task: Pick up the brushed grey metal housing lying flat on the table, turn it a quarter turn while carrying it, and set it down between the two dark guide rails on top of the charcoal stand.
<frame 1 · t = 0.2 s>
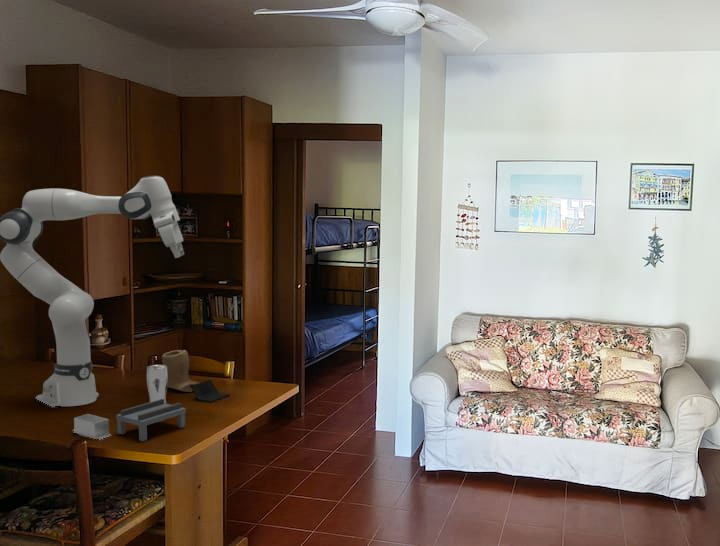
hand: (179, 256, 249), 52 cm above the table, tool tilted 20°, fingers open, 8 cm apart
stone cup: (180, 390, 268), on the table
housing: (91, 434, 215), on the table
beer glass: (157, 410, 241), on the table
stand: (151, 430, 219), on the table
dark grey angled bracket: (210, 399, 256), on the table
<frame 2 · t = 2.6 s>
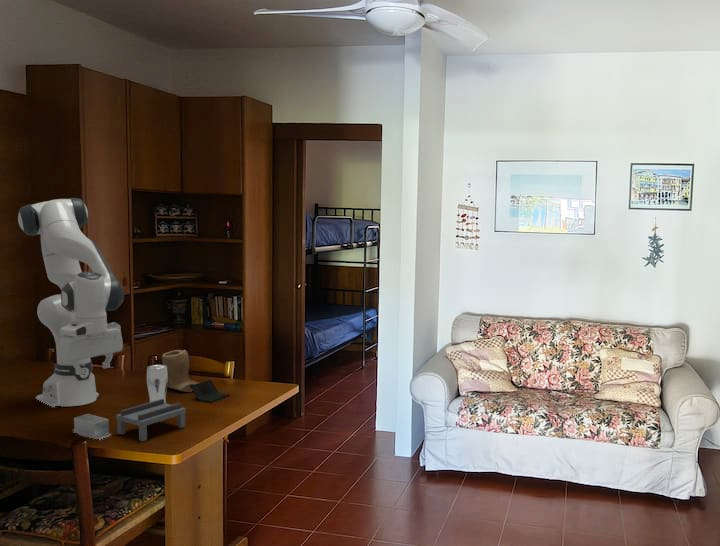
hand: (93, 371, 213), 20 cm above the table, tool pointing down, fingers open, 8 cm apart
nothing on the table moved.
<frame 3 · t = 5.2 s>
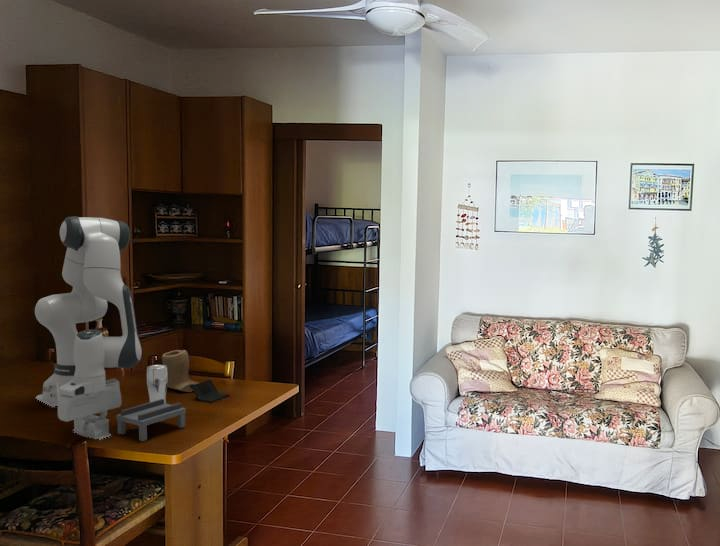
hand: (91, 428, 215), 2 cm above the table, tool pointing down, fingers closed on housing, 5 cm apart
housing: (91, 434, 215), on the table, touching gripper
everything else where it was.
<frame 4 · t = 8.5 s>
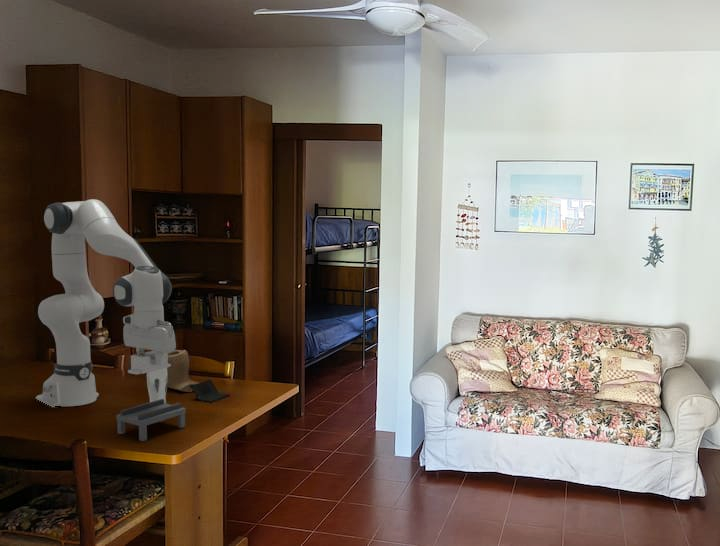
hand: (150, 363, 217), 21 cm above the table, tool pointing down, fingers closed on housing, 5 cm apart
housing: (149, 369, 217), point 19 cm above the table, touching gripper
everything else where it was.
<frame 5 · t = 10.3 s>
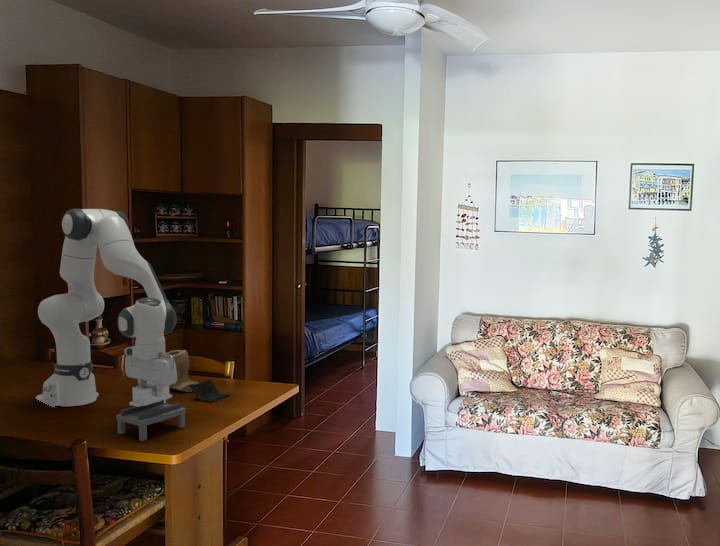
hand: (151, 394, 218), 11 cm above the table, tool pointing down, fingers closed on housing, 5 cm apart
housing: (151, 400, 218), point 9 cm above the table, touching gripper
everything else where it was.
when the fingers open (9 cm above the table, at t = 11.6 s): housing drops 1 cm, resting on stand.
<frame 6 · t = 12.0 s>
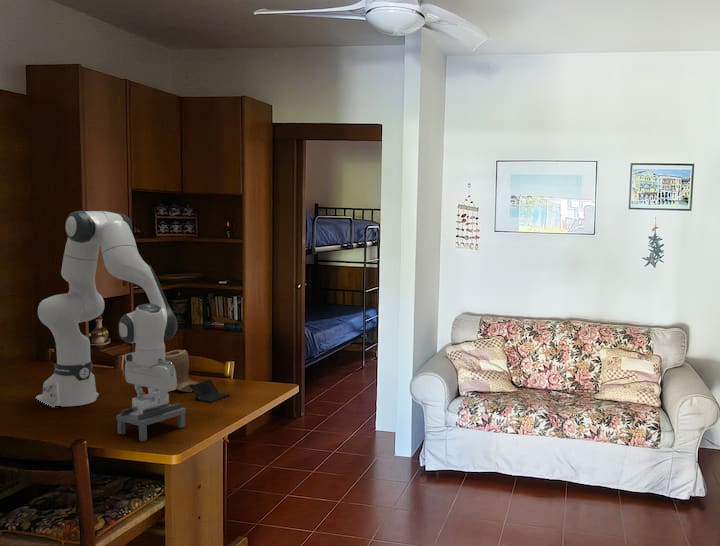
hand: (151, 400, 218), 9 cm above the table, tool pointing down, fingers open, 8 cm apart
housing: (150, 411, 218), point 6 cm above the table, touching stand
everything else where it was.
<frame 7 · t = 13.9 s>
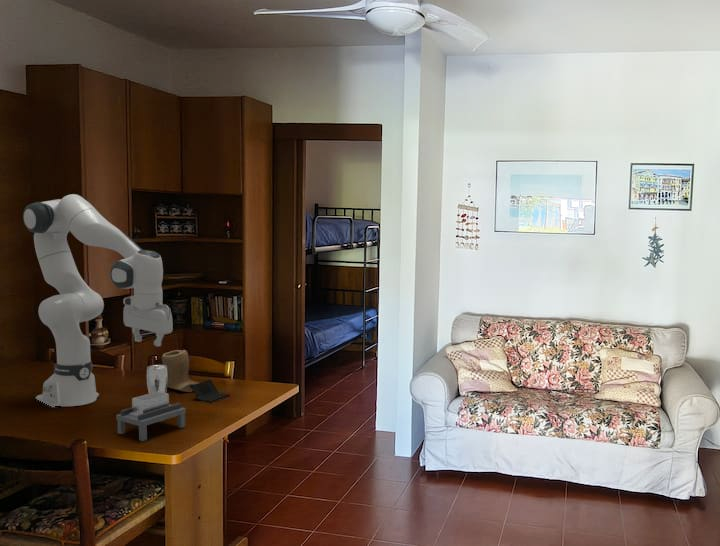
hand: (147, 343, 227), 25 cm above the table, tool pointing down, fingers open, 8 cm apart
nothing on the table moved.
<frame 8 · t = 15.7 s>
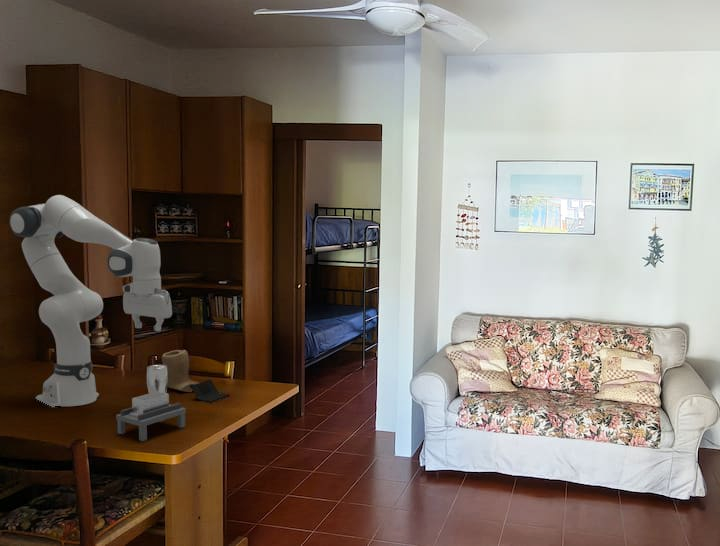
hand: (147, 329, 232), 29 cm above the table, tool pointing down, fingers open, 8 cm apart
nothing on the table moved.
at the end: housing 0.1 cm off-centre on the stand, point 6.0 cm above the stand's base; housing tilted 0°; the gripper is holding nothing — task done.
